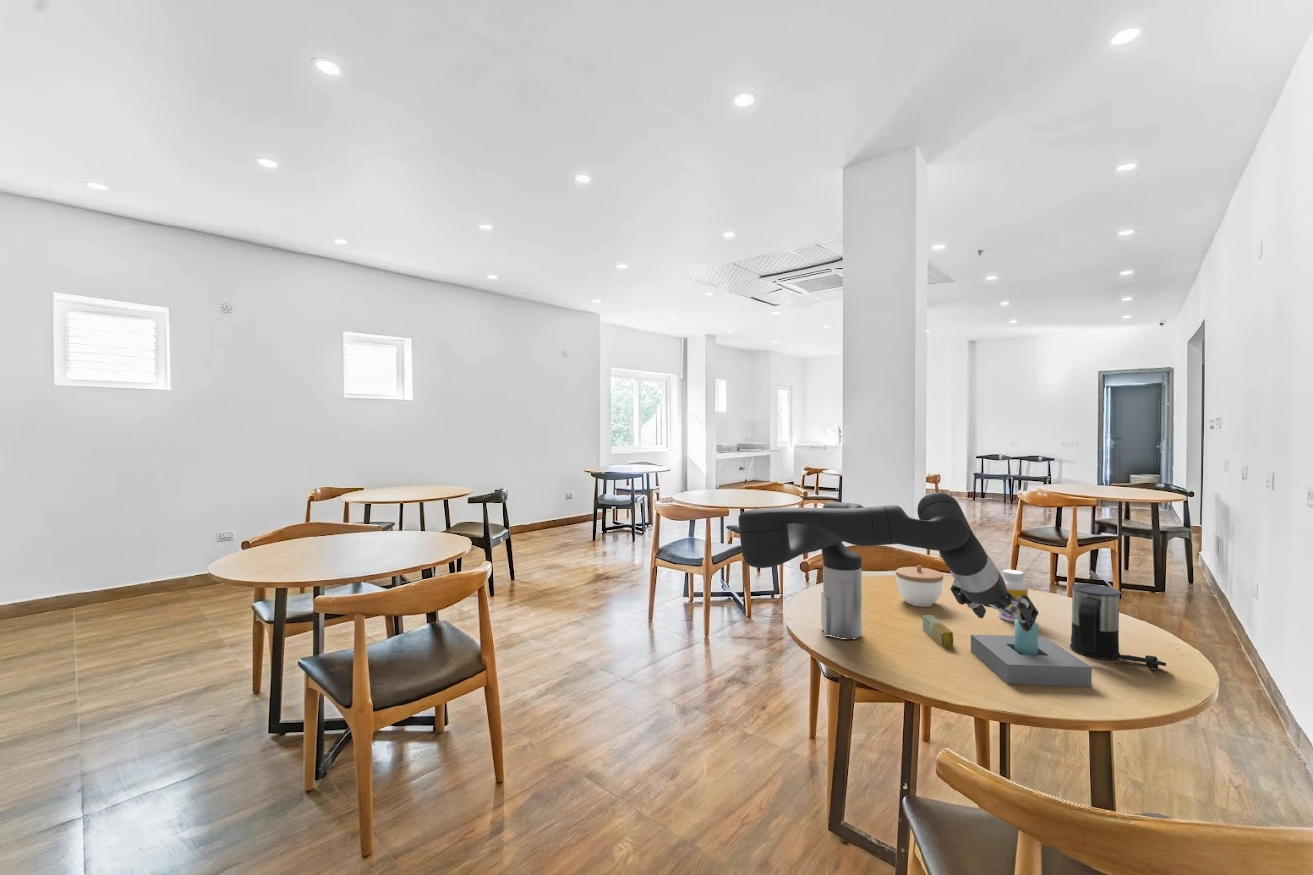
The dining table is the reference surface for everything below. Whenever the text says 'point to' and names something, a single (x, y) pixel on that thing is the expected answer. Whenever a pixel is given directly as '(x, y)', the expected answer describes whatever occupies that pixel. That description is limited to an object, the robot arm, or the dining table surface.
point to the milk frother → (1099, 624)
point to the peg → (1026, 640)
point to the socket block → (1031, 662)
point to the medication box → (938, 631)
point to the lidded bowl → (919, 585)
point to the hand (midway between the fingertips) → (1004, 620)
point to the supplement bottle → (1014, 589)
